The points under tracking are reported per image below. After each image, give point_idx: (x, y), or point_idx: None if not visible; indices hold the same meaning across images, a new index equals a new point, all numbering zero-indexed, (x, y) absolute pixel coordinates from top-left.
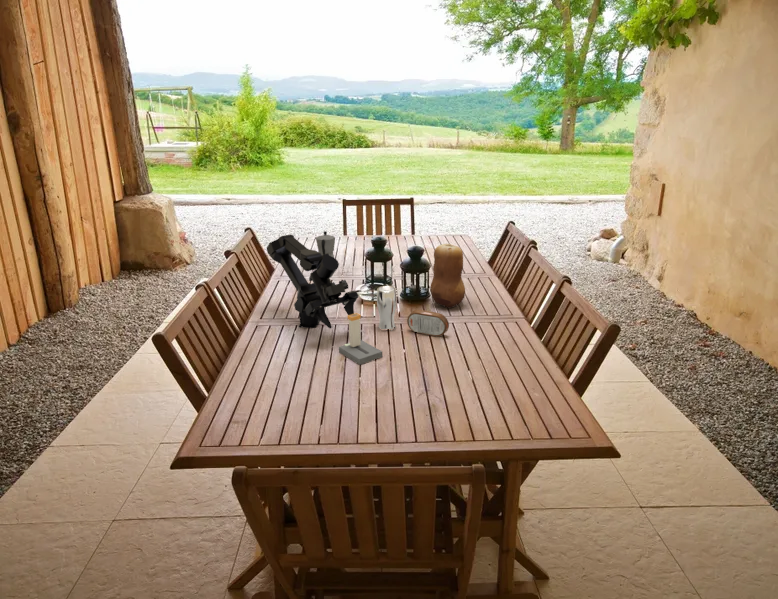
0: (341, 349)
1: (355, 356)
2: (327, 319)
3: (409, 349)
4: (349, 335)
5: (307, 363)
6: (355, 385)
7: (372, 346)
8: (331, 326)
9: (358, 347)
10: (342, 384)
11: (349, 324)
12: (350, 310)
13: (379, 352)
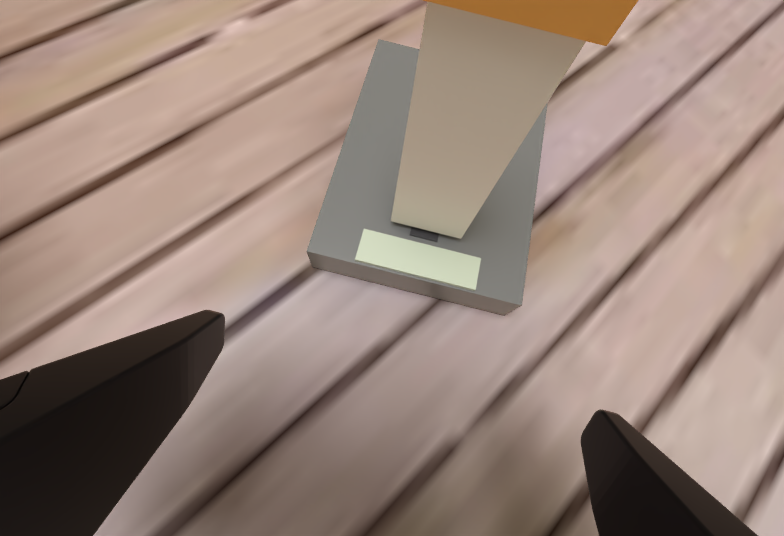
0: (522, 272)
1: (542, 119)
2: (720, 524)
3: (200, 14)
4: (488, 192)
5: (765, 368)
6: (680, 20)
7: (355, 120)
8: (608, 411)
9: None
10: (722, 63)
11: (543, 97)
12: (66, 422)
13: (400, 45)
